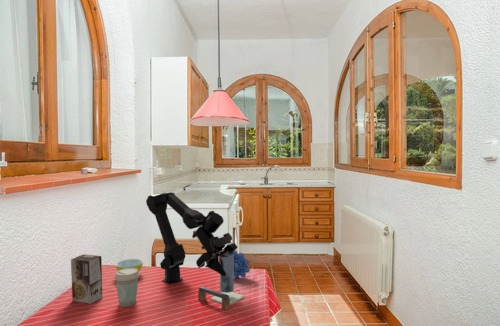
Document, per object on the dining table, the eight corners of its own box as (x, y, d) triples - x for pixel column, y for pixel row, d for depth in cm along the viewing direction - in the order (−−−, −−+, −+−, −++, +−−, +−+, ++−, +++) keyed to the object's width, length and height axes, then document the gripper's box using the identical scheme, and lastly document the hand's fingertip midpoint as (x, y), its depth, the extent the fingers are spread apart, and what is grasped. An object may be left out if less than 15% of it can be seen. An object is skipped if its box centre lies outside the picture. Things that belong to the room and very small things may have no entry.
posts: (198, 299, 123) (198, 290, 123) (202, 297, 125) (202, 288, 125) (226, 310, 115) (225, 300, 115) (229, 308, 116) (229, 298, 116)
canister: (218, 291, 123) (218, 257, 122) (222, 286, 128) (222, 253, 127) (231, 293, 121) (231, 258, 121) (235, 287, 126) (235, 254, 126)
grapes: (221, 280, 142) (221, 253, 142) (225, 274, 149) (225, 248, 149) (248, 282, 140) (247, 254, 140) (250, 276, 147) (250, 249, 146)
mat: (210, 299, 124) (210, 298, 124) (226, 291, 131) (226, 290, 131) (228, 305, 118) (228, 304, 118) (244, 297, 125) (244, 295, 125)
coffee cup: (115, 300, 123) (114, 269, 123) (138, 296, 127) (138, 266, 126) (115, 310, 116) (114, 277, 115) (140, 306, 119) (140, 273, 119)
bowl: (134, 282, 142) (134, 267, 142) (110, 280, 144) (110, 266, 144) (147, 272, 153) (147, 259, 153) (125, 271, 155) (125, 258, 155)
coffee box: (103, 297, 127) (102, 255, 127) (90, 304, 121) (89, 260, 120) (85, 294, 130) (84, 253, 130) (71, 301, 124) (70, 258, 123)
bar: (198, 290, 124) (198, 287, 124) (201, 289, 125) (201, 286, 125) (226, 299, 115) (226, 296, 115) (228, 298, 116) (228, 295, 116)
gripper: (201, 232, 119) (225, 268, 112) (233, 223, 134) (256, 254, 128) (186, 250, 123) (208, 285, 117) (219, 239, 139) (240, 270, 132)
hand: (229, 273), depth 124 cm, fingers closed on canister, 5 cm apart
